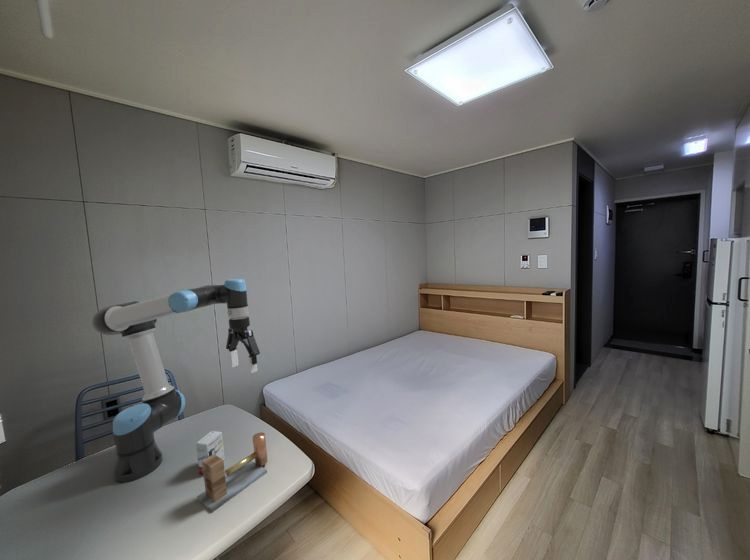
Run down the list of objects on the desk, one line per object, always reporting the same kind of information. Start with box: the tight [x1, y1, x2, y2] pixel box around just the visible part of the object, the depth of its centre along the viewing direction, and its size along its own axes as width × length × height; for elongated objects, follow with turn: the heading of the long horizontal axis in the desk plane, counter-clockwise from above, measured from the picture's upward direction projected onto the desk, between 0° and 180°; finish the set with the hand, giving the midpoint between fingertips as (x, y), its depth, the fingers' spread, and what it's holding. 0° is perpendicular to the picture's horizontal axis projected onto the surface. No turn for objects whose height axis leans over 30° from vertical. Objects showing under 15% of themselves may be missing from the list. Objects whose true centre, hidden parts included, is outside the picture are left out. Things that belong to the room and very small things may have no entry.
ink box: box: [195, 430, 226, 474], centre depth 116 cm, size 9×5×12 cm, turn 168°
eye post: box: [196, 454, 268, 513], centre depth 105 cm, size 10×20×13 cm, turn 145°
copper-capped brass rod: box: [224, 432, 269, 477], centre depth 109 cm, size 4×15×11 cm, turn 145°
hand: (244, 369), depth 121 cm, fingers open, 13 cm apart
